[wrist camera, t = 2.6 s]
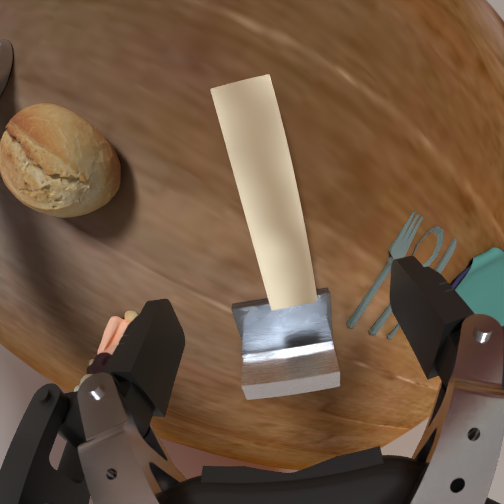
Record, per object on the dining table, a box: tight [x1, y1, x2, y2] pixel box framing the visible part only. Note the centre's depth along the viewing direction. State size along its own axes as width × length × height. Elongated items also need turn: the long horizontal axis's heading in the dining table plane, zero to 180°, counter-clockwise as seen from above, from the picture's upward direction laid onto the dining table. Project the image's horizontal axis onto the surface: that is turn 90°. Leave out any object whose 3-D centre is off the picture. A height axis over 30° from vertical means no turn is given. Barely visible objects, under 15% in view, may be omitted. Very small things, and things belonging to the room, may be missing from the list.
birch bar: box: [210, 74, 317, 311], centre depth 22 cm, size 4×18×5 cm, turn 14°
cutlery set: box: [347, 211, 504, 339], centre depth 29 cm, size 20×30×2 cm, turn 68°
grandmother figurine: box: [74, 311, 138, 392], centre depth 26 cm, size 8×4×13 cm, turn 130°
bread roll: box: [0, 103, 121, 218], centre depth 19 cm, size 10×15×8 cm, turn 61°
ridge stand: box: [232, 288, 340, 400], centre depth 27 cm, size 10×10×8 cm
